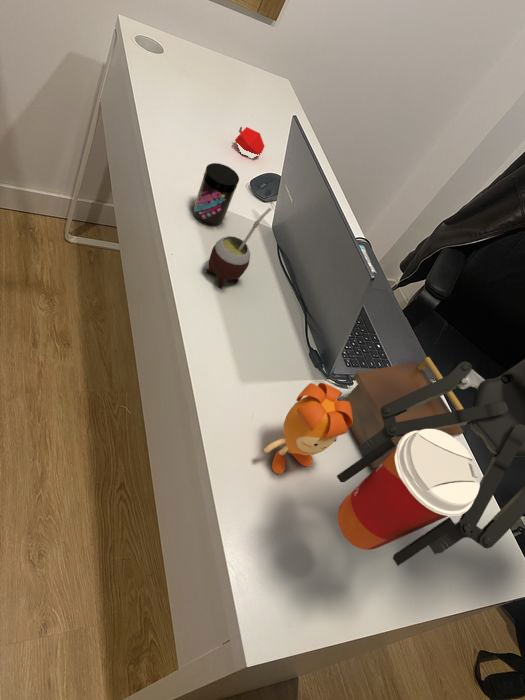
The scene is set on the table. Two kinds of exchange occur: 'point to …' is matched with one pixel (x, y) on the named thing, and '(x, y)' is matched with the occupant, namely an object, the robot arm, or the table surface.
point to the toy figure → (312, 425)
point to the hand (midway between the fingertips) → (367, 518)
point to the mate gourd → (231, 256)
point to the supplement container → (215, 193)
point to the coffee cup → (410, 490)
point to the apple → (250, 140)
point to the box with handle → (386, 388)
